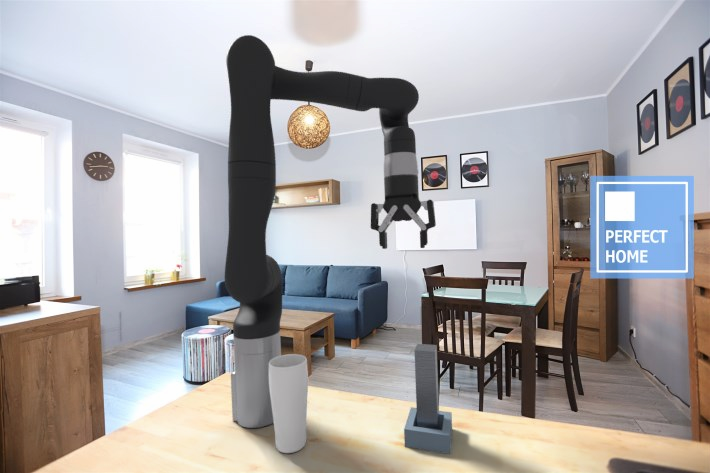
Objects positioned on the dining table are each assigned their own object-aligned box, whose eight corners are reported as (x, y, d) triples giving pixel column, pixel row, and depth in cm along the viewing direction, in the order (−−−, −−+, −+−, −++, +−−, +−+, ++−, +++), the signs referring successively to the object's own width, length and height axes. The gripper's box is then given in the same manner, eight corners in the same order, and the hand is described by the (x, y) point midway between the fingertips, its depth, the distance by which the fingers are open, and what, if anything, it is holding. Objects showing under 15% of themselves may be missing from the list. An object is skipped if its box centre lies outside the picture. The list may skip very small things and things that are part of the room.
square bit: (417, 441, 59) (414, 350, 59) (420, 429, 63) (417, 343, 62) (438, 444, 58) (434, 351, 58) (439, 432, 62) (436, 345, 61)
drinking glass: (302, 459, 55) (299, 368, 55) (264, 455, 57) (260, 367, 57) (315, 435, 62) (312, 354, 62) (281, 432, 63) (278, 352, 63)
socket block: (404, 446, 58) (404, 429, 58) (411, 422, 65) (410, 407, 65) (450, 453, 56) (449, 435, 56) (452, 428, 63) (451, 412, 63)
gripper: (365, 176, 74) (368, 250, 74) (431, 170, 70) (434, 248, 70) (374, 180, 81) (376, 248, 81) (434, 175, 77) (437, 246, 77)
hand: (403, 248), depth 76 cm, fingers open, 8 cm apart
